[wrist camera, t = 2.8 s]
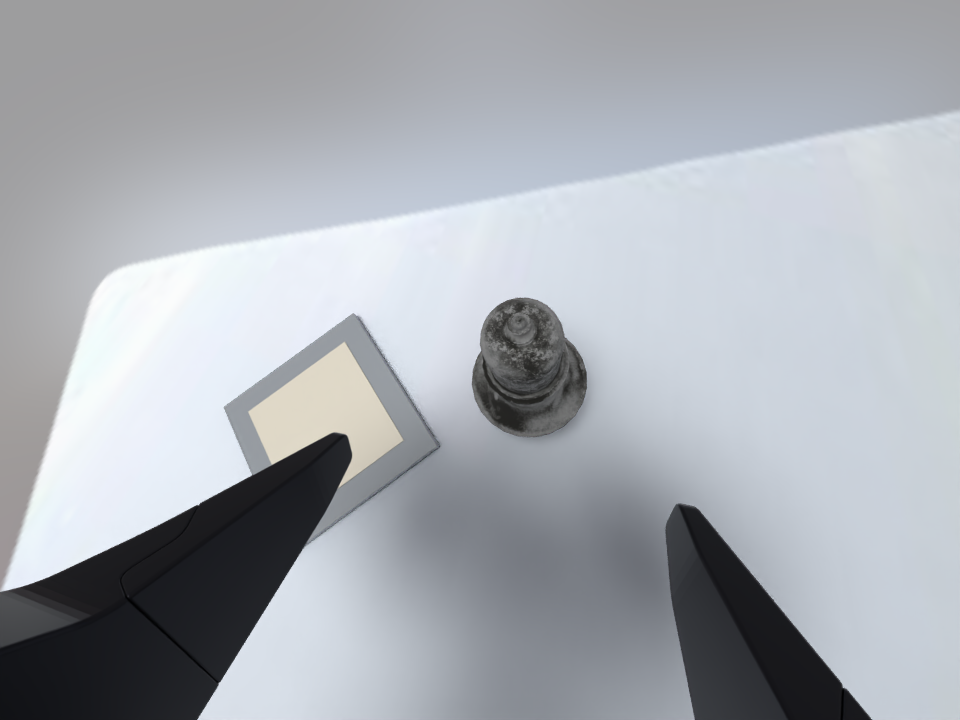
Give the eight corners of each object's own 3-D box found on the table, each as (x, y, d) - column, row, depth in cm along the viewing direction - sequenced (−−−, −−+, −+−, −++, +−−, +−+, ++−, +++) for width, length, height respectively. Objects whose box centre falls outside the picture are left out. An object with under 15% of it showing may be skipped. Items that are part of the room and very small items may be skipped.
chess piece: (571, 339, 21) (609, 211, 10) (586, 435, 20) (650, 415, 8) (479, 350, 22) (415, 243, 11) (485, 442, 21) (419, 433, 9)
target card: (439, 446, 21) (436, 446, 20) (293, 554, 21) (285, 557, 20) (357, 316, 24) (352, 312, 24) (231, 408, 24) (222, 407, 23)
